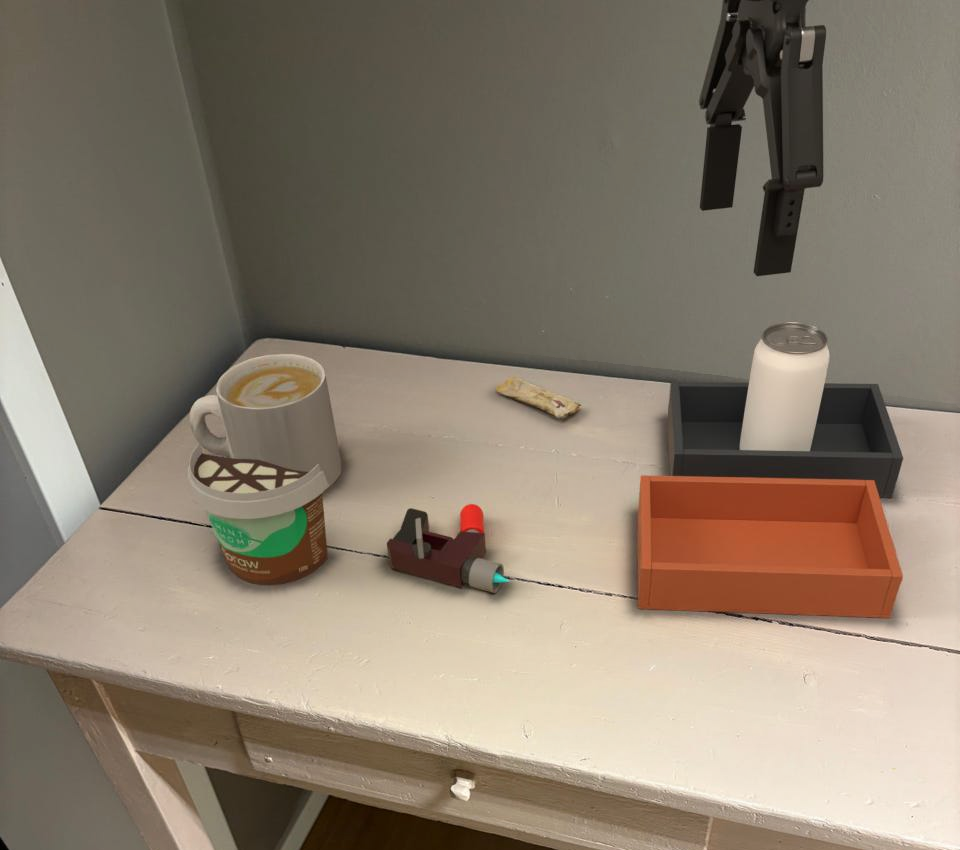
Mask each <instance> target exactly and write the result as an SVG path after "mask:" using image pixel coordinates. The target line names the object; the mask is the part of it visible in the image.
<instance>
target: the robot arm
mask: <svg viewBox="0 0 960 850" xmlns="http://www.w3.org/2000/svg"><path fill="white" fill-rule="evenodd" d="M809 1H810V0H722V6H721V14H720V19H719V24H718V27H717V32H716V34H715V38H714V39H715V40H714V42H713V47H712V50H711V54H710V58H709V61H708V62H709V63H708V64H707V69H706V72H705V76H704V80H703V83H702V88H701V92H700V95H699V100H698V105H699V108H700V110H705V115H704V119H705V123H706V125H709V126H708V127H707V128H706V137H705V138H706V139H705V149H704V157H703V158H704V159H703V168H702V178H701V179H702V180H701V188H700V189H701V191H700V198H699V199H700V200H699V209H700V210H701V211H702V212H705V211H712V210H722V209H731V208H733V206H734V199H735V198H734V197H735V188H736V182H737V173H738V164H739V158H740V157H739V155H740V148H741V147H740V146H741V140H742V131H743V126H742V125H741V124H740V123H736V122H743V121H744V122H745V121H746V120H747V118H746V111H745V106H746V105H747V104H746V103H747V102H748V100H749V98H750V96H751V93H752V92H753V89H754V92H755V94H756V95H757V96H758V97H760V98H761V100H762V104H763V115H764V123H765V132H766V141H767V149H768V156H769V157H768V158H769V167H770V176H771V178H770V179H767V180H766V182H765V183H764V184H763V185H762V190H763V192H764V194H763V202H762V209H761V215H760V223H759V230H758V237H757V245H756V251H755V257H754V265H753V274H754V275H755V276H756V277H762V276H763V277H764V276H772V275H780V274H789V273H791V272H792V268H793V267H792V266H793V261H794V256H795V249H796V243H797V237H798V231H799V226H800V219H801V213H802V207H803V203H804V202H803V201H804V197H805V196H804V195H805V190H806V189H812V188H820V187H822V185H823V183H824V93H823V92H824V88H823V87H824V82H823V81H824V80H823V79H824V77H823V76H824V74H823V72H824V71H823V66H824V65H823V64H824V57H825V56H824V55H825V49H826V42H827V41H826V40H827V27H826V26H825V25H824V24H820V25H819V24H818V25H809V26H806V17H807V16H806V14H807V8H806V7H807V3H809ZM734 122H735V123H736V124H732V123H734Z"/></svg>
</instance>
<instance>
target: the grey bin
mask: <svg viewBox="0 0 960 850" xmlns="http://www.w3.org/2000/svg"><path fill="white" fill-rule="evenodd" d="M669 384H670V385H669V397H668V407H667V419H666V423H667V444H668V446H667V447H668V466H669V476H698V477H746V478H794V479H842V480H874V481H875V484H876V488H877V491H878V494H879V498H880V499H892V498H893V495H894V492H895V488H896V485H897V482H898V479H899V475H900V471H901V468H902V466H903V465H902V464H903V461H904V455H903V453H902V450H901V447H900V443H899V441H898V438H897V435H896V432H895V429H894V427H893V424H892V421H891V418H890V415H889V411H888V409H887V406H886V403H885V399H884V397H883V394H882V391H881V389H880V386H879V383H835V382H834V383H831V382H829V383H827V382H825V383H824V388H823V393H822V398H821V402H820V407H819V412H818V416H817V421H816V426H815V430H814V435H813V440H812V444H811V449H810V451H765V450H740V439H741V432H742V425H743V419H744V412H745V406H746V399H747V393H748V386H749V382H739V381H738V382H731V381H729V382H728V381H727V382H725V381H712V382H711V381H670V383H669Z"/></svg>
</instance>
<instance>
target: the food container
mask: <svg viewBox="0 0 960 850" xmlns="http://www.w3.org/2000/svg"><path fill="white" fill-rule="evenodd" d="M202 448H203V447H202V446H201V445H200V443H199V442H198V443H197V445H196V446H195V447H194V448H193V449H192V452H191V453H190V457H189V460H188V466H187V485H188V487H187V489H188V493H189V495H190V497H191V499H192V501H193V502H194V503H195V504H196V505H197V506H198V507H199V508H201V509H202V510H204V511H205V513H206V516H207V519H208V521H209V523H210V525H211V528H212V530H213V533H214V535H215V537H216V540H217V542H218V545H219V547H220V549H221V552H222V554H223V556H224V557H223V558H224V560H225V561H226V564H227V566H228V569H229V570H230V571H231V572H232V573H233V574H234V575H235V577H237V578H238V579H240V580H242V581H245V582H246V583H250V584H254V585H259V586H274V585H275V586H276V585H282V584H288V583H291V582H296V581H298V580H300V579H302V578H304V577H306V576H308V575H310V574H312V573H313V572H316V570H318V569H319V568H320V567H321V566H322V565H324V563H325V562H326V561H327V560H328V558H329V555H328V544H327V543H328V542H327V533H326V521H325V510H324V509H325V508H324V499H323V497H324V496H323V493H324V492H325V491H326V490H327V489H328V488H327V487H328V486H329V485H328V483H327V480H326V478H325V475H324V472H323V471H320V467H319V464H317V465H316V466H315V467H314V468H313V469H312V470H311V471H310V472H305V471H298V470H293V469H288V468H284V467H281V466H278V465H275V464H272V463H268V462H265V461H261V460H255V459H233V458H228V457H225V456H218V455H214V454H213V455H212V454H206V453H204V450H203V449H202ZM326 488H327V489H326ZM325 489H326V490H325Z"/></svg>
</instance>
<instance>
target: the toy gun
mask: <svg viewBox="0 0 960 850" xmlns="http://www.w3.org/2000/svg"><path fill="white" fill-rule="evenodd" d="M484 519H485V517H484V512H483V509H482V508H481V506H479V505H477V504H475V503H468V504H466V505H464V506H463V507H462V508H461V510H460V512H459V528H460V529H459V532H458V533H457V535H456V537H454V538H453V537H451V536H449V535H444V534H441V533H436V532H433V531H429V530H430V523H429V515H428V513H427V512H426V511H424V510H420V509H417V508H413V507H412V508H411V507H410V508H407V510H406V512H405V515H404V518H403V520H402V523H401V526H400V529H399V530H398V532H397V533H396V534H395V535H394V536H393V538H389V540H387V542H386V549H387V557H388V562H389V564H390V566H391V568H392V569H393V570H395V571H396V570H397V571H400V572H405V573H408V574H412V575H415V576H419V577H422V578H427V579H430V580H435V581H437V582H439V583H444V584H446V585H447V584H448V585H450V586H455V587H459V588H462V587H463V586H464V585H465V583H466V584H469V586H470V588H475V589H478V590H482V591H486V592H490V593H492V594H493V593H494V594H495V593H497V592H498V591H499V589H500V587H501V585H502V583H510V582H511V581H510V580H509V579H507V578H506V577H504V573H505V568H504V564H502V563H500V562H496V561H493V560H488V559H484V558H483V557H484V556H485V554H486V551H487V549H486V533H485V521H484Z"/></svg>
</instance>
